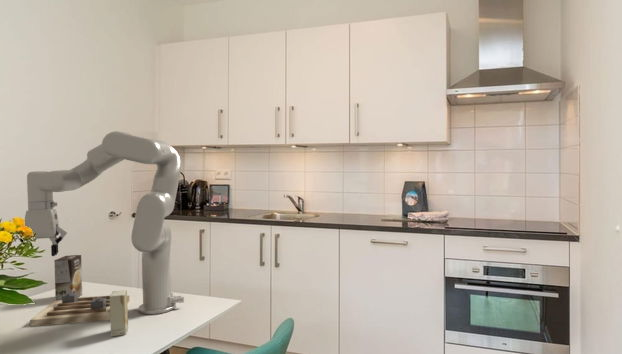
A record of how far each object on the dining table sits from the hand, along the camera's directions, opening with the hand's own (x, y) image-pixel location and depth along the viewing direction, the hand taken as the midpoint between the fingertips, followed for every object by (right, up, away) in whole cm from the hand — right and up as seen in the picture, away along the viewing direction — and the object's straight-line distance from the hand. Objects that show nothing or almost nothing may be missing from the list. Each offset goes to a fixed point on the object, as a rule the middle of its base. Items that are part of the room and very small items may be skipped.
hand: (42, 255), depth 152 cm
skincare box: (+36, -20, -20) cm, 46 cm away
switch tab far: (+9, -17, +2) cm, 20 cm away
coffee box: (+1, -20, +15) cm, 25 cm away
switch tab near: (+22, -17, -4) cm, 28 cm away
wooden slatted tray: (+15, -20, -1) cm, 25 cm away
